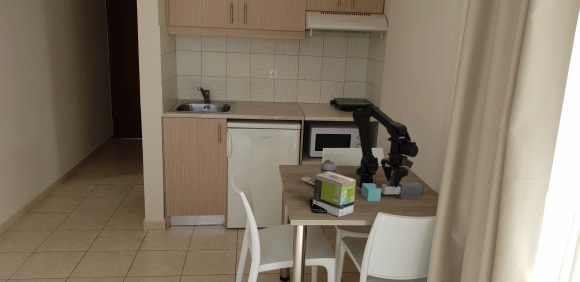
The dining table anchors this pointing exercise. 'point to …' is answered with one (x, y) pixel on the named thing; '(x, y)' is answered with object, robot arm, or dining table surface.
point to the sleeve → (411, 191)
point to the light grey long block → (391, 188)
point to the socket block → (370, 192)
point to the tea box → (334, 193)
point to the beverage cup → (328, 166)
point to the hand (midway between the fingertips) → (392, 184)
